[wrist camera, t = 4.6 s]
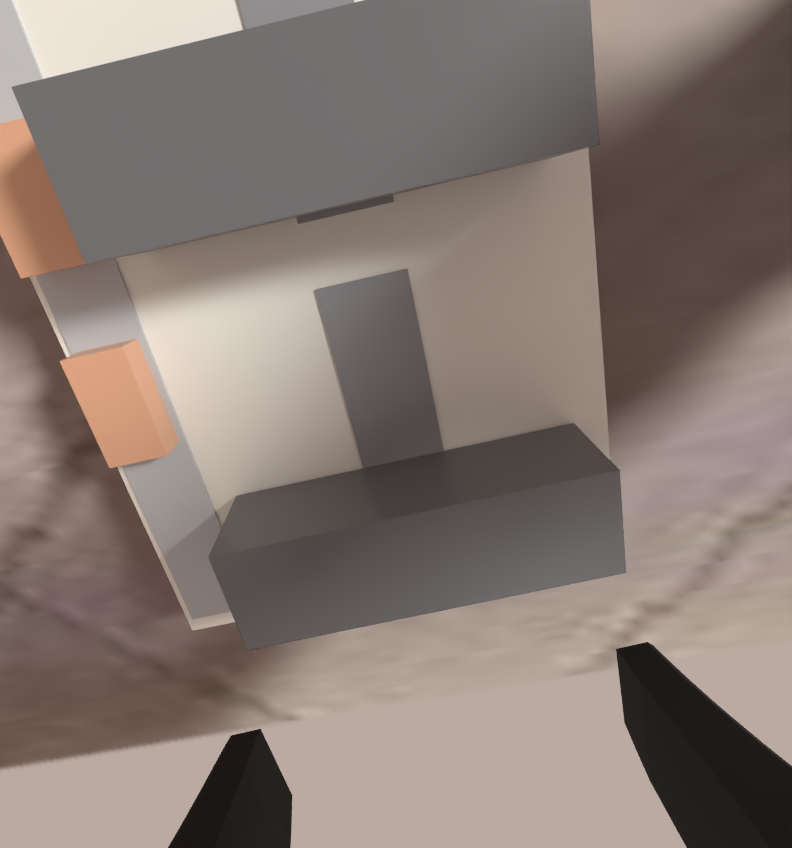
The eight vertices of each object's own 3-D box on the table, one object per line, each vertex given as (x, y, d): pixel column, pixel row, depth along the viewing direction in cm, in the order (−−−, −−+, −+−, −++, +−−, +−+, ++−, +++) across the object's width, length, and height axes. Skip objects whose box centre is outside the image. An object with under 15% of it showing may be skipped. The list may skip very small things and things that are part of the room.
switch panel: (425, -1381, 7) (460, -2329, 5) (592, 510, 19) (630, 562, 16) (-505, -1071, 8) (-978, -1765, 5) (209, 590, 19) (182, 654, 17)
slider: (574, 422, 15) (619, 470, 13) (582, 511, 16) (625, 572, 14) (236, 495, 16) (208, 557, 13) (266, 577, 17) (246, 650, 14)
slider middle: (534, 8, 12) (586, -55, 9) (548, 158, 13) (599, 144, 10) (93, 115, 12) (11, 86, 9) (145, 252, 13) (84, 264, 10)
